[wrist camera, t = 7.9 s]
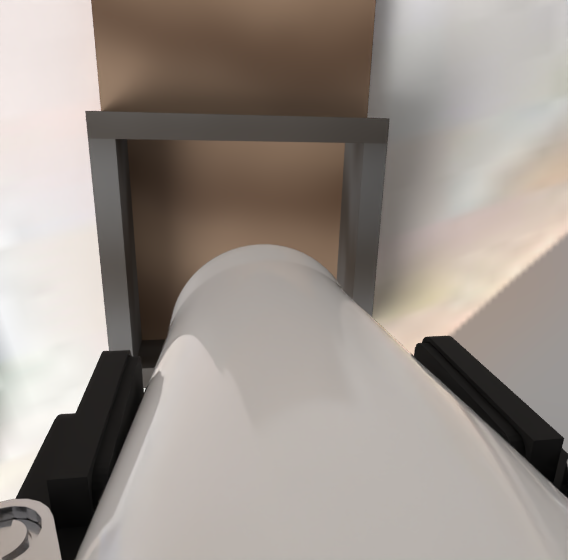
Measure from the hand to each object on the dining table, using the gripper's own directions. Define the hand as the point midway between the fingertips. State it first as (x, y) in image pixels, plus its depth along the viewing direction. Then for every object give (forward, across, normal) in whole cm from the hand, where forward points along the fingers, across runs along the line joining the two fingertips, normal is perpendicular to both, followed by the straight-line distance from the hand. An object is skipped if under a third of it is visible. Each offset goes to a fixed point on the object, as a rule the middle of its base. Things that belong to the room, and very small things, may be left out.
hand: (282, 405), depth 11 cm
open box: (+16, 0, -3) cm, 16 cm away
